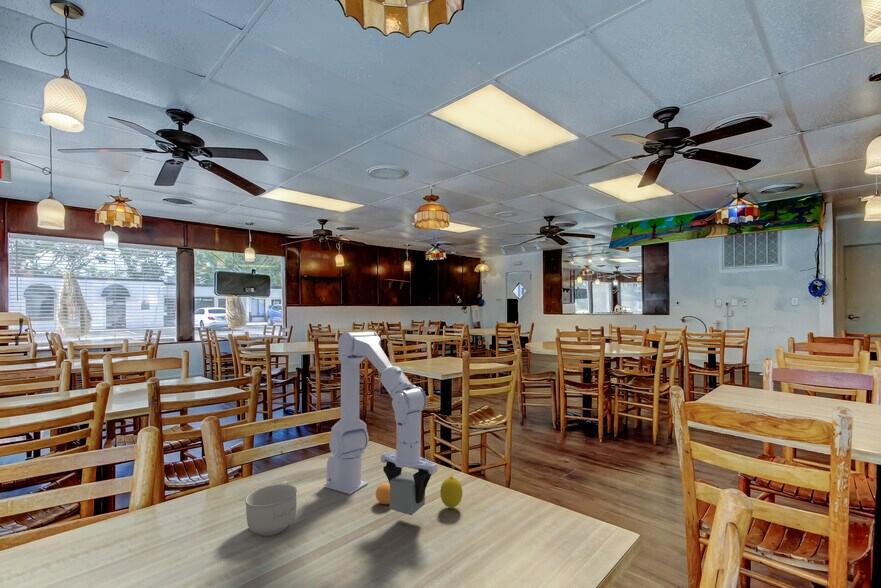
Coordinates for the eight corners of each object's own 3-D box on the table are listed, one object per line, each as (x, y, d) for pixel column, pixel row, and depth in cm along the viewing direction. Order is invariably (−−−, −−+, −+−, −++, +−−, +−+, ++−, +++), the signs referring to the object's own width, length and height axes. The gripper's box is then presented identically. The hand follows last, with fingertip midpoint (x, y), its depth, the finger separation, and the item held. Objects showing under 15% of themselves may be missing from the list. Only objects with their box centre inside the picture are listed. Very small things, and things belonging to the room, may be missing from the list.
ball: (371, 505, 103) (371, 485, 103) (383, 497, 108) (383, 478, 108) (387, 509, 101) (387, 489, 101) (398, 501, 105) (399, 482, 106)
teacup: (278, 545, 85) (279, 506, 86) (233, 538, 88) (234, 501, 88) (311, 512, 99) (312, 479, 99) (272, 507, 101) (273, 475, 102)
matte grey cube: (389, 508, 94) (390, 480, 94) (403, 498, 99) (404, 471, 100) (411, 515, 91) (411, 485, 92) (424, 504, 97) (425, 476, 97)
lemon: (453, 516, 98) (454, 483, 98) (435, 509, 101) (436, 477, 102) (466, 507, 103) (466, 475, 103) (448, 501, 106) (449, 470, 106)
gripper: (373, 439, 96) (372, 497, 95) (426, 450, 89) (425, 513, 88) (390, 431, 102) (389, 486, 102) (441, 441, 95) (440, 500, 95)
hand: (407, 498), depth 95 cm, fingers closed on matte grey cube, 6 cm apart
